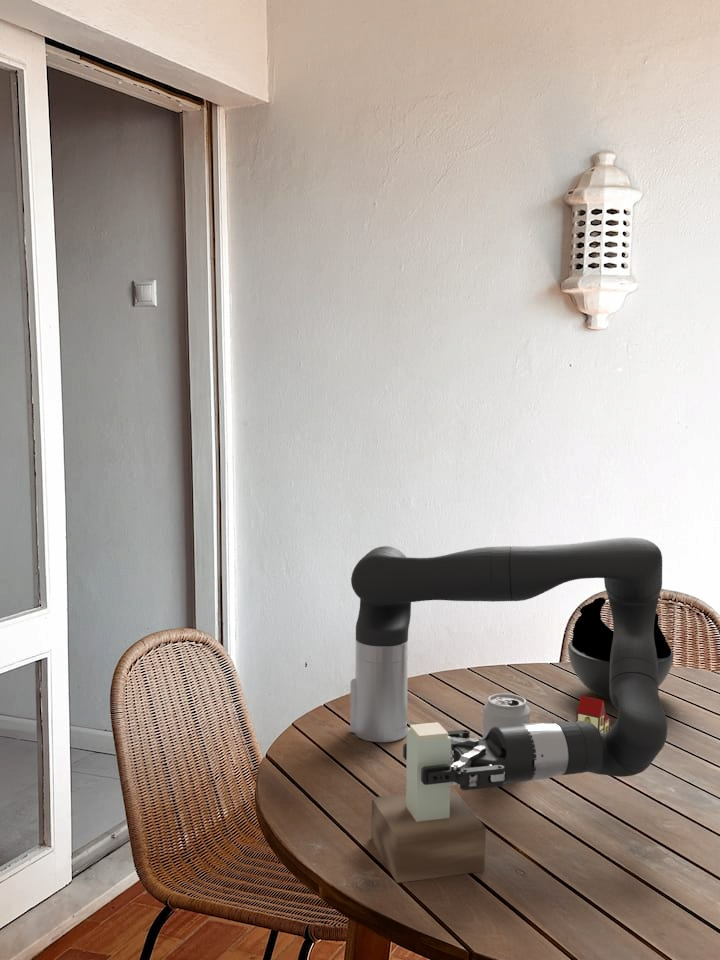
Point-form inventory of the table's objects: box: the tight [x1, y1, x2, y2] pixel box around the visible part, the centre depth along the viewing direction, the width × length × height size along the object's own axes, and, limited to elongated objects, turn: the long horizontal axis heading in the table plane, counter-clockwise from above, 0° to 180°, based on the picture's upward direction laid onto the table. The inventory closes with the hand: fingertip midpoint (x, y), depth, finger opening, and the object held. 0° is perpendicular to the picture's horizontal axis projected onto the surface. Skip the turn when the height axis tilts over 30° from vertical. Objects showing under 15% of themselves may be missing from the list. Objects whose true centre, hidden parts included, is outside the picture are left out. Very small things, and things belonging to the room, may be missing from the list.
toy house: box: [575, 695, 611, 733], centre depth 174 cm, size 6×7×8 cm
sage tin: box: [405, 721, 451, 822], centre depth 132 cm, size 5×5×12 cm
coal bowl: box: [567, 596, 674, 700], centre depth 194 cm, size 20×20×19 cm
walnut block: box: [370, 788, 487, 884], centre depth 133 cm, size 12×12×6 cm
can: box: [482, 693, 531, 739], centre depth 160 cm, size 8×8×12 cm
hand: (412, 763), depth 131 cm, fingers open, 7 cm apart
